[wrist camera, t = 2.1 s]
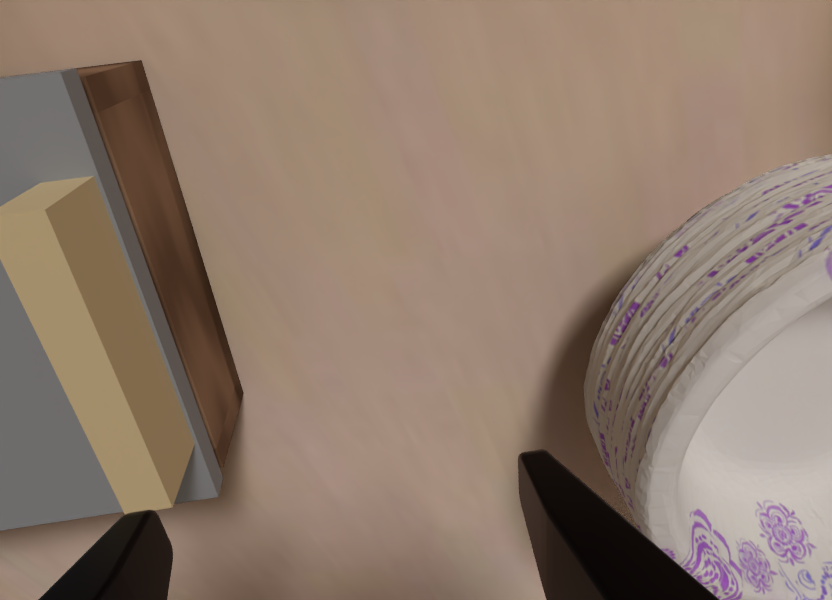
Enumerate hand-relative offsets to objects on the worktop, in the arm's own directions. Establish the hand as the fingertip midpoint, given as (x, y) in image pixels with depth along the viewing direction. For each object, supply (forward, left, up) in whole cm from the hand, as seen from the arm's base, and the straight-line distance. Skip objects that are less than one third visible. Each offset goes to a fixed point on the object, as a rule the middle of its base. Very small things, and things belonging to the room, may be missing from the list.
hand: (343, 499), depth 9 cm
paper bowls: (-6, -15, -12) cm, 20 cm away
